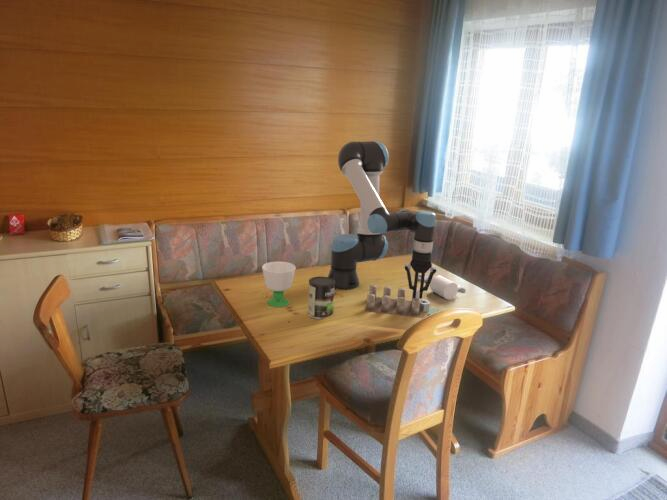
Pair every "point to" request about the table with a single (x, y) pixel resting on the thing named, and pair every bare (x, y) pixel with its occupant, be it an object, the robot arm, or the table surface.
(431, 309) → the pad
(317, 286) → the coffee can
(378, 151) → the robot arm
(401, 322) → the table surface
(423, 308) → the nut
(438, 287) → the mug
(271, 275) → the cup
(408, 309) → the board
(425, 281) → the adjustable wrench
